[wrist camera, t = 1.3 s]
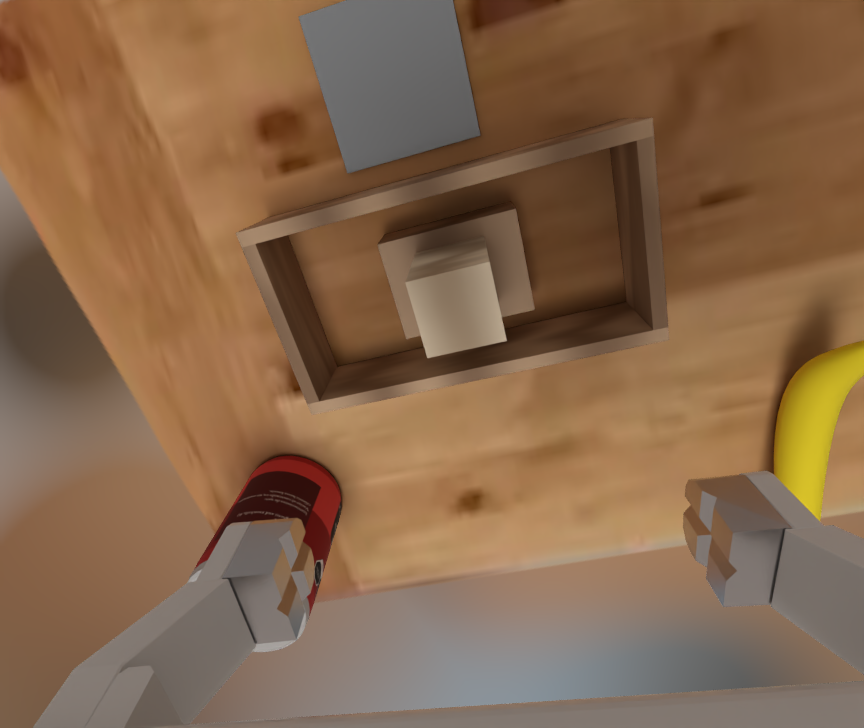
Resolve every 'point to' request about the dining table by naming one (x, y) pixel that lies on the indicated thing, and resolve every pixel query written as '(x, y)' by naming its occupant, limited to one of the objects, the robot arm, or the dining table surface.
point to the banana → (813, 421)
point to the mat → (391, 77)
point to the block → (455, 298)
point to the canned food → (288, 514)
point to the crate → (500, 228)
